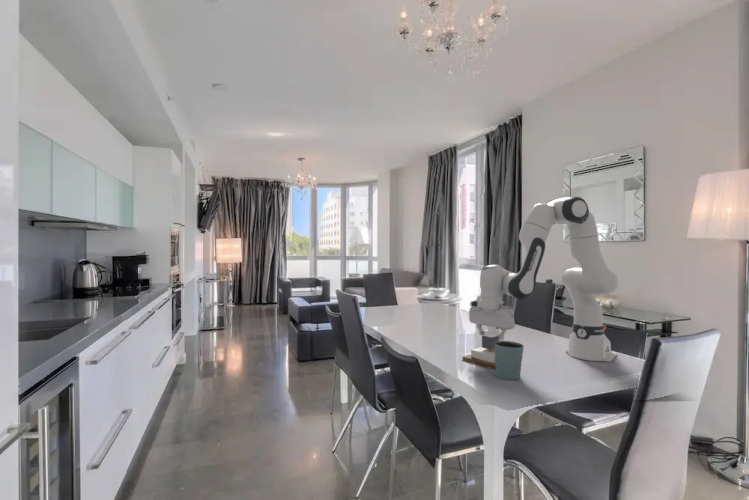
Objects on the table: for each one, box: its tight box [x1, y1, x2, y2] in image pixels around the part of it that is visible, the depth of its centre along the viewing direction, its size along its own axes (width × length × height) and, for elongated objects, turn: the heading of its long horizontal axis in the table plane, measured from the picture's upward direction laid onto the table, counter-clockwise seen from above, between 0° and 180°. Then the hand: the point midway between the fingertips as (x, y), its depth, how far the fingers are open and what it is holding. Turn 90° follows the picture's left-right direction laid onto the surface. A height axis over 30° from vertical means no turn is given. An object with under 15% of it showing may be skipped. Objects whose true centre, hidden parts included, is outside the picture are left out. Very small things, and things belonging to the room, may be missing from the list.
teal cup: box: [494, 340, 525, 381], centre depth 146 cm, size 10×10×12 cm
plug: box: [481, 334, 499, 352], centre depth 166 cm, size 7×4×6 cm, turn 129°
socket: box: [470, 346, 495, 363], centre depth 166 cm, size 11×11×4 cm
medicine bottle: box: [484, 326, 505, 341], centre depth 192 cm, size 7×7×12 cm
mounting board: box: [462, 353, 496, 370], centre depth 166 cm, size 16×16×2 cm
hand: (491, 336), depth 166 cm, fingers open, 8 cm apart
